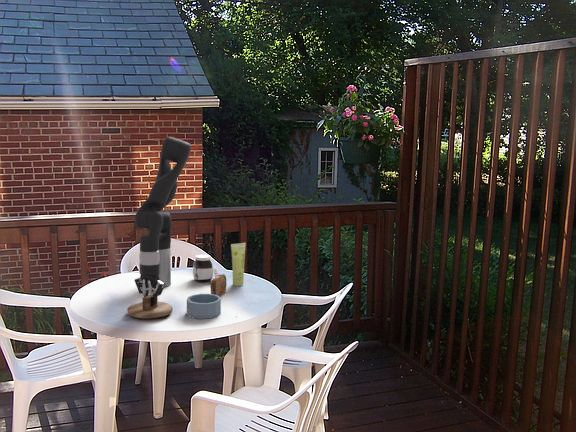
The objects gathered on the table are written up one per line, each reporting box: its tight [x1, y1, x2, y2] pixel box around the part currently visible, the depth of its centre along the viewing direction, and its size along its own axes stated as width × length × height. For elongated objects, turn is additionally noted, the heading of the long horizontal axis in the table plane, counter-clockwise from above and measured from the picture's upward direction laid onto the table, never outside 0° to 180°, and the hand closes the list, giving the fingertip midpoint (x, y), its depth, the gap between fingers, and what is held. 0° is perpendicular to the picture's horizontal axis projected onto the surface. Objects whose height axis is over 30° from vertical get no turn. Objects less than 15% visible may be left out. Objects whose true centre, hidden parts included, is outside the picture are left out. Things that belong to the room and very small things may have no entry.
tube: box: [230, 242, 247, 287], centre depth 268 cm, size 6×5×20 cm
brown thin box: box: [210, 274, 227, 298], centre depth 253 cm, size 15×3×8 cm, turn 168°
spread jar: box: [192, 254, 220, 283], centre depth 275 cm, size 12×11×12 cm
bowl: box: [186, 293, 222, 320], centre depth 229 cm, size 13×13×6 cm
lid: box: [126, 293, 173, 319], centre depth 227 cm, size 17×17×6 cm
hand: (150, 305), depth 227 cm, fingers closed on lid, 2 cm apart
